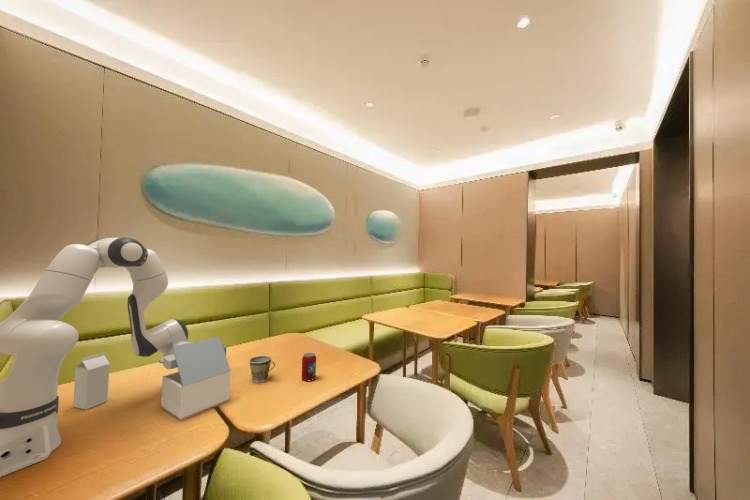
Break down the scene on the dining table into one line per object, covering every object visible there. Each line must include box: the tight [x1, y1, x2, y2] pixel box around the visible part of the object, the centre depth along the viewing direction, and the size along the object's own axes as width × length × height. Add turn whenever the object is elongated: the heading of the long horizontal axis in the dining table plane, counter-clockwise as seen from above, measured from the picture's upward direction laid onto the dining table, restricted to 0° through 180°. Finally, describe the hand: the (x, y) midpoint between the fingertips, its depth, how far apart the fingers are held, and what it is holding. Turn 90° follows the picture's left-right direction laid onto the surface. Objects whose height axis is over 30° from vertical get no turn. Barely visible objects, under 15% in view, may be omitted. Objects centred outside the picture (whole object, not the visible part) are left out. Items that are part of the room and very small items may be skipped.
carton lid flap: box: [173, 336, 231, 387], centre depth 112 cm, size 16×18×1 cm
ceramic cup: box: [248, 355, 276, 384], centre depth 138 cm, size 13×10×10 cm
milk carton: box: [72, 352, 111, 410], centre depth 112 cm, size 7×7×19 cm
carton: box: [160, 371, 231, 422], centre depth 114 cm, size 16×19×12 cm
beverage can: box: [301, 352, 317, 382], centre depth 140 cm, size 7×7×12 cm
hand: (203, 360), depth 113 cm, fingers closed, pressing on carton lid flap
